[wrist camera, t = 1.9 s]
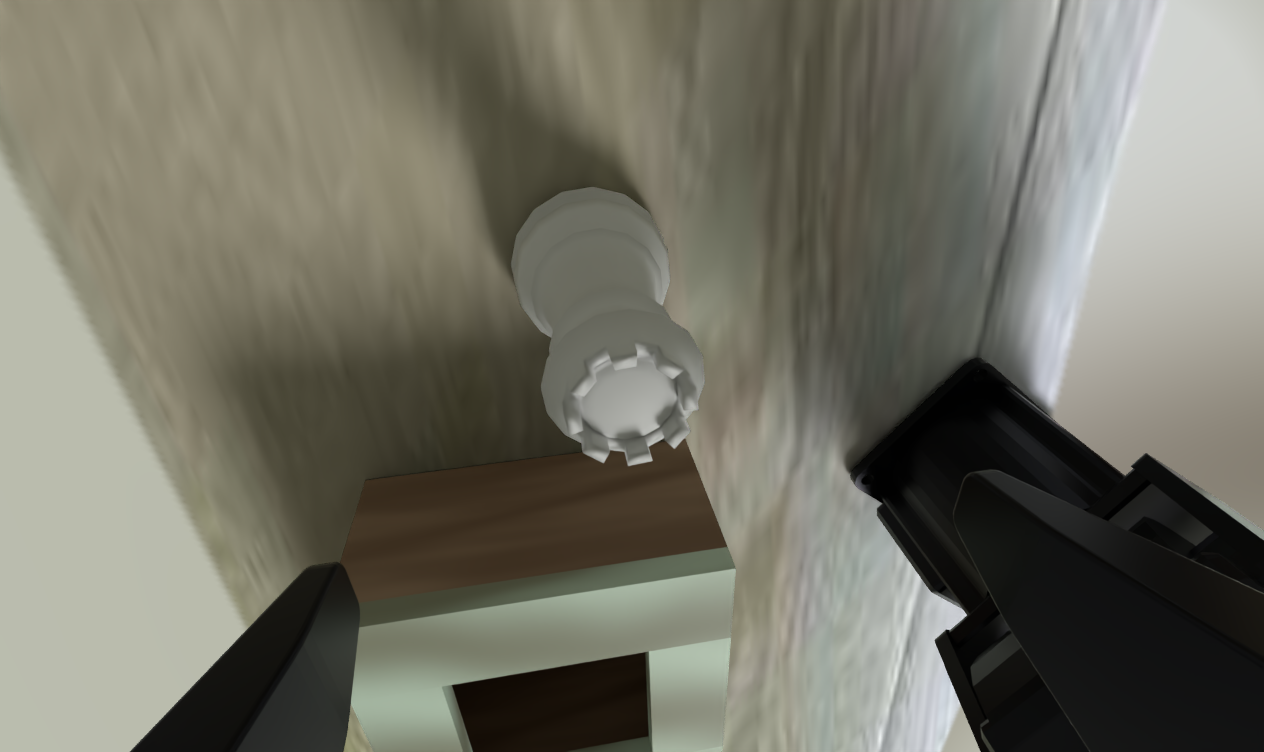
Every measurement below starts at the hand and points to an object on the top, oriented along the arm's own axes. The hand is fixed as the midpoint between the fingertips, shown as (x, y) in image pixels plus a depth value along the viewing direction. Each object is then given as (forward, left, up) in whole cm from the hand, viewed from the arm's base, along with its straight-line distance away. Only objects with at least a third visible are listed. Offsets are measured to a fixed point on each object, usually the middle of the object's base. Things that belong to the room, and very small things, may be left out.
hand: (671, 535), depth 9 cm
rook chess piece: (0, 0, -11) cm, 11 cm away
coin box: (+12, +6, -11) cm, 17 cm away
